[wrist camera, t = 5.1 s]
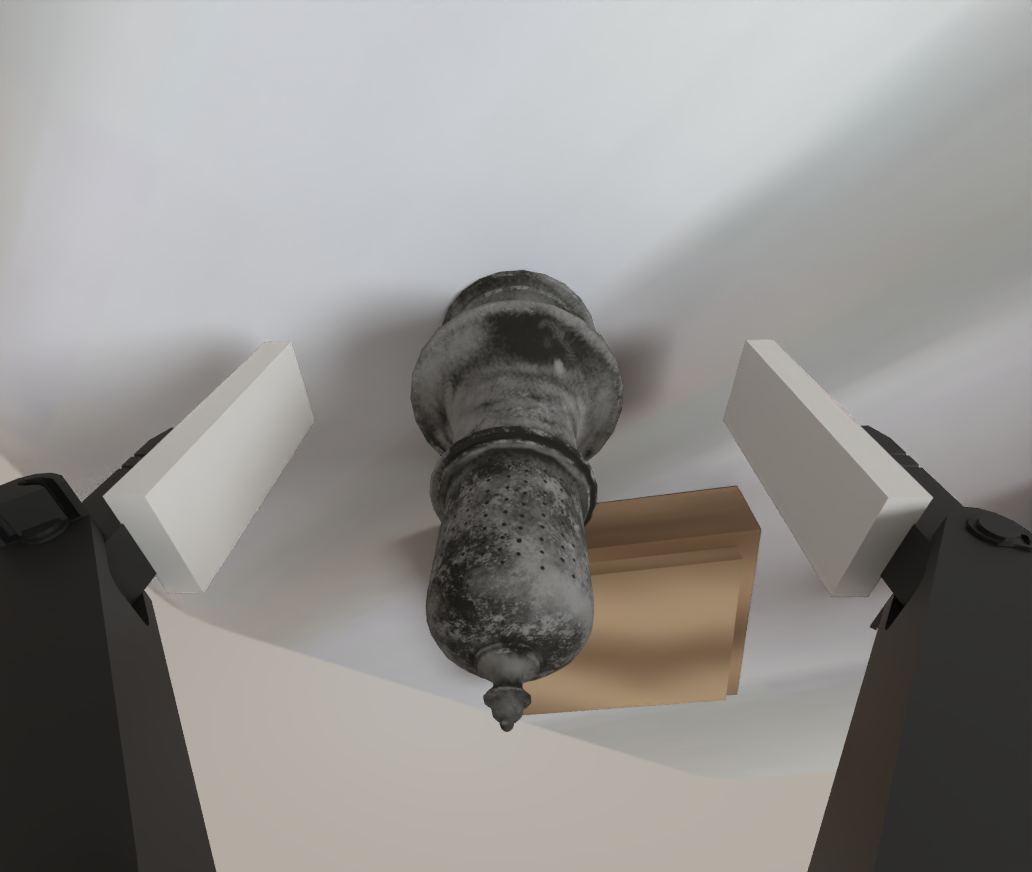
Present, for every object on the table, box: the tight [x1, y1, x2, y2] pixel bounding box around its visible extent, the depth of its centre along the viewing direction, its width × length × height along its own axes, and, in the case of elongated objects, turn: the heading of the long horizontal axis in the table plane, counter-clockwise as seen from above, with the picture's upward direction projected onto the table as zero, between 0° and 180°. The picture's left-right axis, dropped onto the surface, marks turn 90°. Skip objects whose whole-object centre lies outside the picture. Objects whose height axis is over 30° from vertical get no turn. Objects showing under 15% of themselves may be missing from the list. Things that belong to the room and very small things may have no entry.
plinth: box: [492, 486, 761, 715], centre depth 23 cm, size 12×12×3 cm
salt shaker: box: [411, 270, 623, 732], centre depth 11 cm, size 6×6×12 cm
